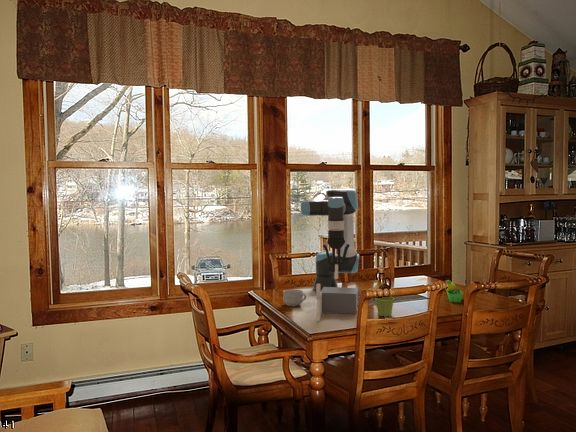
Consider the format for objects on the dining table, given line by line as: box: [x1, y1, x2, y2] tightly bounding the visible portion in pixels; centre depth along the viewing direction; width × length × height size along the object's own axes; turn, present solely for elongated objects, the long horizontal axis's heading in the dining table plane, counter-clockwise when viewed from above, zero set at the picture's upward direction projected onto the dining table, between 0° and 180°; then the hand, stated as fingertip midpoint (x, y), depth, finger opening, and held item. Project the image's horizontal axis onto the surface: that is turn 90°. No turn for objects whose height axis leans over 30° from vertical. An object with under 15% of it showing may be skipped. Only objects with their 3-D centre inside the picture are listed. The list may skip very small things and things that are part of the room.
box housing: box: [321, 286, 359, 315], centre depth 239 cm, size 14×18×10 cm
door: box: [315, 284, 323, 322], centre depth 225 cm, size 2×17×17 cm, turn 171°
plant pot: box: [374, 296, 395, 318], centre depth 226 cm, size 9×9×9 cm
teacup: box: [282, 289, 307, 307], centre depth 248 cm, size 14×11×8 cm
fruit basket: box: [445, 279, 464, 303], centre depth 255 cm, size 11×9×11 cm
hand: (336, 278), depth 222 cm, fingers closed
